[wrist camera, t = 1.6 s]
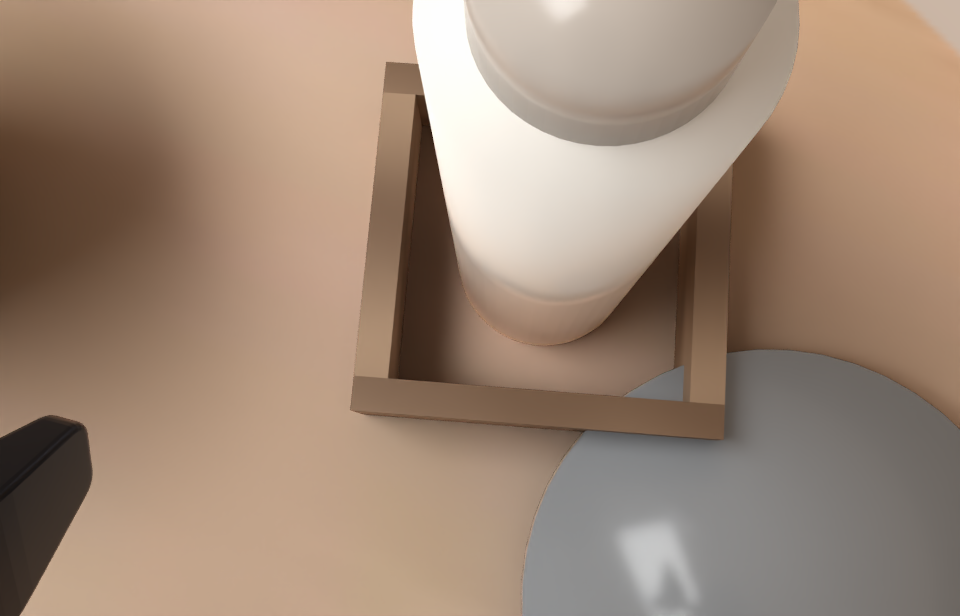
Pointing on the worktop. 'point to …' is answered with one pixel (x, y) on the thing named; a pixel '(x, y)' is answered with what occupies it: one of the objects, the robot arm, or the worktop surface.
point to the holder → (390, 396)
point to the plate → (759, 504)
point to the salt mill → (587, 138)
